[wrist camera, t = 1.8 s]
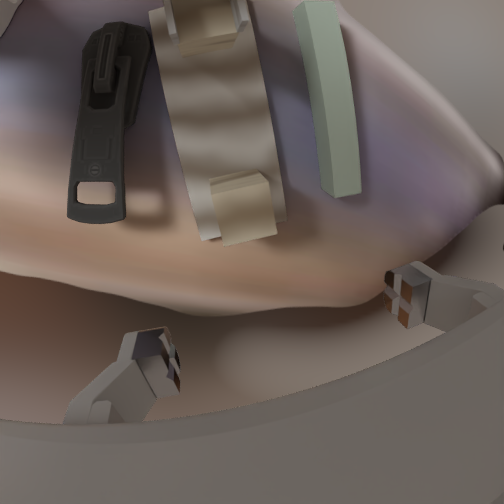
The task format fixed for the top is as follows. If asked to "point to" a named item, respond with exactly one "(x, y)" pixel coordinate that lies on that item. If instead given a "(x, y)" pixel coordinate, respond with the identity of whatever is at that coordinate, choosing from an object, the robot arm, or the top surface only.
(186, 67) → the rail posts
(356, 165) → the rail
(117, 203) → the zipper pull
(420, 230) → the top surface
